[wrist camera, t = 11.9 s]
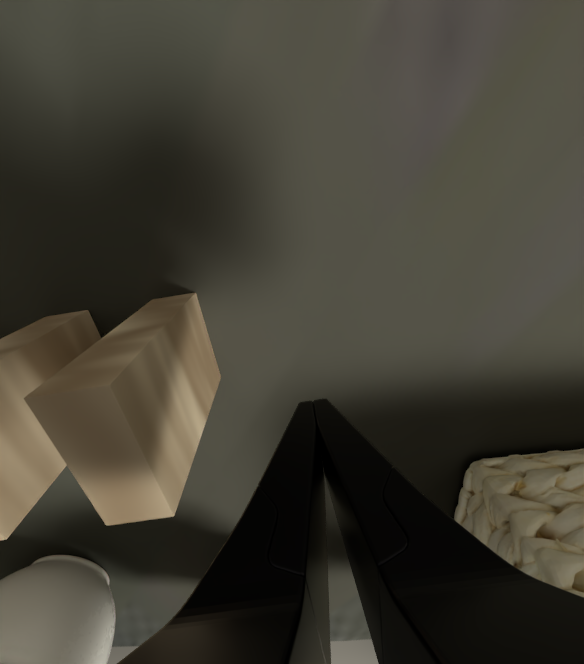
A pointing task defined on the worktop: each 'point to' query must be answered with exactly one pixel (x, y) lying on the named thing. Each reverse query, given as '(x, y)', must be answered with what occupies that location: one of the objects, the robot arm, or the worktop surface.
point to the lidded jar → (56, 613)
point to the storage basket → (530, 513)
